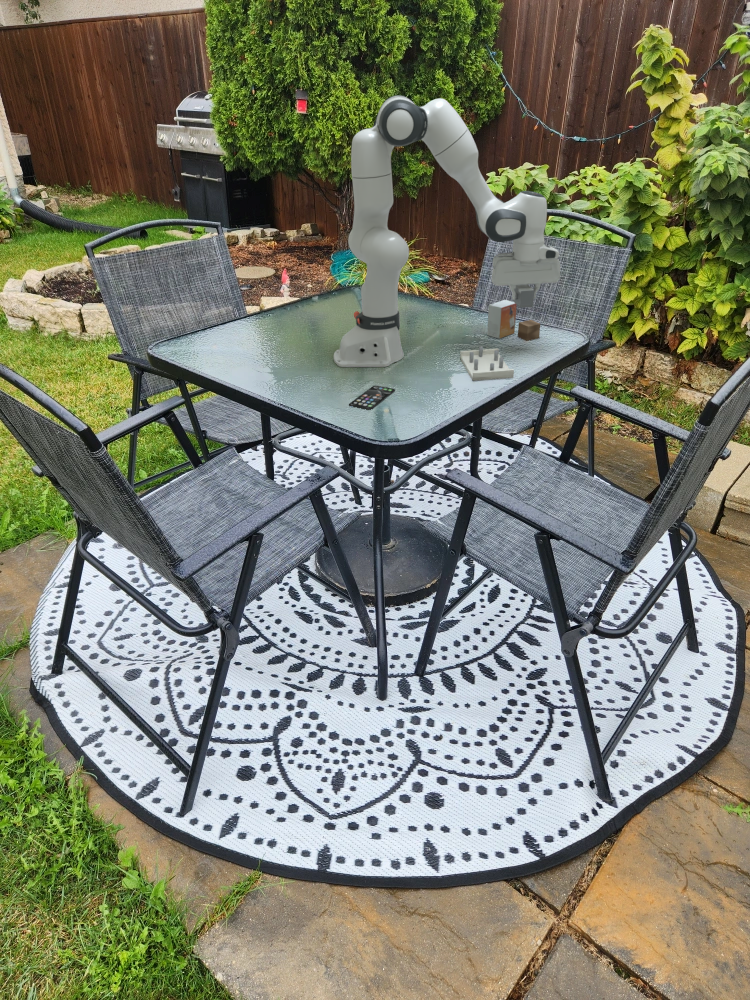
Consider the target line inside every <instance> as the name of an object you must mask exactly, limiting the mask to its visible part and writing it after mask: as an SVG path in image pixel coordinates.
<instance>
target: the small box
mask: <svg viewBox="0 0 750 1000" xmlns="http://www.w3.org/2000/svg"><path fill="white" fill-rule="evenodd" d="M517 307H518V306H517V305H516V303H515V302H514V301H513V300H512V301H511V300H507V299H503V300H500V301H497V302H493V303H491V304H488V309H487V310H488V313H487V314H488V315H487V316H488V317H487V328H486V329H487V331H486V333H487V336H489V337H493V338H496V339H499V340H500V339H502V338H505V337H508V336H511V335H513V334H515V329H516V317H517Z"/></svg>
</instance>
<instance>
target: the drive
mask: <svg viewBox="0 0 750 1000" xmlns="http://www.w3.org/2000/svg"><path fill="white" fill-rule="evenodd" d="M514 291H515V292H517V293H518V299H517V300H513V299H512V302H515V303H516V305H517V307H518V308H519V309H524V308H526V309H527V308H533V307H534V299H535V298H534V288H533V287H531V286H530V284H525V285H516V288H515V289H514Z"/></svg>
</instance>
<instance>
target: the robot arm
mask: <svg viewBox="0 0 750 1000" xmlns="http://www.w3.org/2000/svg"><path fill="white" fill-rule="evenodd" d="M373 122H374V123H373V126H372V127H370V128H364V129H361V130H360V131H358V132H357V133H356V134H355V135H354V136H353V138H352V141H351V152H350V153H351V155H350V158H351V161H350V163H351V164H350V165H351V168H350V169H351V178H352V179H351V180H352V193H353V201H354V203H353V204H354V206H353V208H354V209H353V210H354V211H353V223H352V229H351V230H350V233H349V234H348V240H347V241H348V243H347V244H348V247H349V250H350V251H351V252H352V254H353V256H355V258H357V259H358V260H360V261H361V262H363V263H365V264H366V275H365V279H364V282H363V284H362V285H361V287H360V294H361V295H360V296H361V297H360V298H361V312H360V311H357V310H356V311H355V312H354V313H353V318H354V319H355V325H354V327H352V328H351V329H350V330H349V331H347V332H346V333H345V334H343V336H342V337H341V340H340V345H339V348H338V349H336V350H335V351H334V353H333V361H334V364H335V363H336V364H337V366H339V368H384V367H385V368H386V367H388V366H391V364H393V363H395V362H396V363H397V362H398V361H401V360H402V359H403V358H404V356H405V353H404V350H403V346H402V343H401V336H400V329H401V328H400V327H401V316H400V315H401V314H400V310H399V306H398V305H399V304H398V303H399V300H398V298H399V297H398V296H399V295H398V293H399V291H398V289H399V280H400V276H401V272H402V269H403V267H405V265H406V264H407V262H408V259H409V257H410V249H409V245H408V243H407V241H406V240H405V239H404V238H403V237H402V236H401V235H400V234H399V233H398V232H396V231H393V230H390V229H389V227H388V220H389V213H390V210H391V209H392V206H393V205H394V189H393V176H392V175H393V174H392V173H393V172H392V153H393V150H394V147H407V146H408V145H411V144H412V143H415V142H418V141H422V142H423V143H424V144H425V145H426V146H427V148H428V149H429V150H430V152H431V154H432V156H433V157H434V159H435V161H436V162H437V163H438V165H439V166H440V167H441V168H442V169H443V170H444V172H446V175H448V176H450V177H451V178H452V179H454V180H455V181H457V183H458V184H459V185H460V186H461V188H462V189H463V191H464V193H465V194H466V196H467V197H468V199H469V201H470V202H471V204H472V206H473V208H474V210H475V218H476V224H477V226H478V228H479V231H481V232H482V233H483V234H485V235H486V237H488V238H489V240H492V241H493V242H494V243H495V242H496V243H505V242H510V241H513V243H512V244H513V246H512V251H511V252H499V253H497V254H496V255H494V257H493V258H492V272H491V283H492V284H493V286H494V287H503V286H505V287H506V286H508V288H509V290H510V292H511V299H512V301H513V300H517V299H518V293H517V292H515V291H514V289H515V288H516V285H525V284H528V285H533V286H534V288H533V289H534V299H536V297H537V293H538V291H539V290H540V288H541V286H542V285H543V284H554V283H555V284H556V283H558V281H560V277H561V262H560V260H559V259H558V258H559V257H560V251H559V250H558V249H556V248H554V247H553V246H550V245H546V244H545V235H544V234H545V229H546V227H547V215H548V203H547V199H546V197H545V196H544V195H543V194H541V193H539V192H536V191H531V190H522V191H520V192H519V193H518V194H517V195H516V196H514V197H513V198H511V199H510V200H508V201H506V202H504V201H503V200H501V199H500V198H498V197H497V196H496V195H494V193H493V192H492V190H491V189H490V187H489V185H488V183H487V182H486V180H485V178H484V176H483V175H482V173H481V171H480V168H479V150H478V147H477V144H476V142H475V140H474V138H473V135H472V133H471V131H470V130H469V128H468V127H467V124H466V123H465V122H464V120H463V119H462V117H461V116H460V115H459V113H458V111H457V110H456V109H455V108H454V106H452V104H451V103H449V102H448V100H446V99H444V98H441V97H439V98H435V99H433V100H430V101H429V102H427V103H426V104H425V105H422V106H418V105H417V104H415V103H414V101H412V100H411V99H410V98H408V97H406V96H405V95H399V94H398V95H393V96H390V97H388V98H387V99H386V100H385V101H384V102H382V104H381V105H380V108H379V110H378V112H377V115H376V117H375V120H374V121H373ZM541 284H542V285H541ZM336 364H335V365H336Z"/></svg>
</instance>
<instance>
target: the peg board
mask: <svg viewBox="0 0 750 1000" xmlns="http://www.w3.org/2000/svg"><path fill="white" fill-rule="evenodd" d="M459 352H460V353H459V354H460V355H459V358H460V359H459V360H460V361H461V363H462V364H463V366H464V368H465V370H466V372H467V373H468V375H469V376H470V379H471V380H472V382H477V381H489V380H492V381H493V380H501V379H504V380H505V379H513V378H514V377H515V376H514V375H515V369H514V368H509V366H508V365H507V363H506V362H505V360H504V359H505V358H504V357H502V356H501V355H500V349H499V348H485V349H484V346H483V345H482V346H481V345H480V346H479V347H478V349H473V350H472V349H471V350H460V351H459Z"/></svg>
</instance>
